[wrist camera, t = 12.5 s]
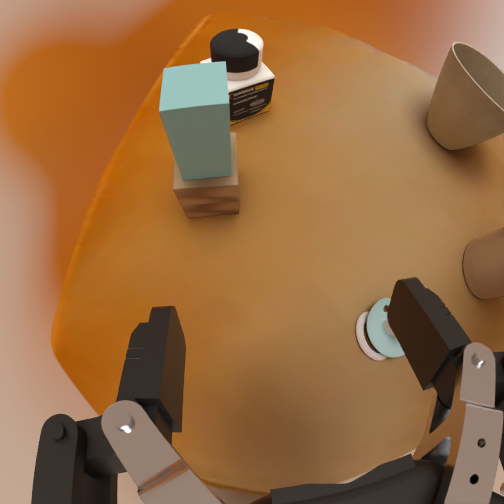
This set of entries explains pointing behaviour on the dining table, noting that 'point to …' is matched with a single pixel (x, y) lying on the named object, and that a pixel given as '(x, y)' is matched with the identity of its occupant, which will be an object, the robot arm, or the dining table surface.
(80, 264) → the dining table surface
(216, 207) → the tower base slab
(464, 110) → the plant pot
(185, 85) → the pillar
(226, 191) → the tower upper slab
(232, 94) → the medicine bottle
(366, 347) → the pacifier
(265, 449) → the dining table surface
